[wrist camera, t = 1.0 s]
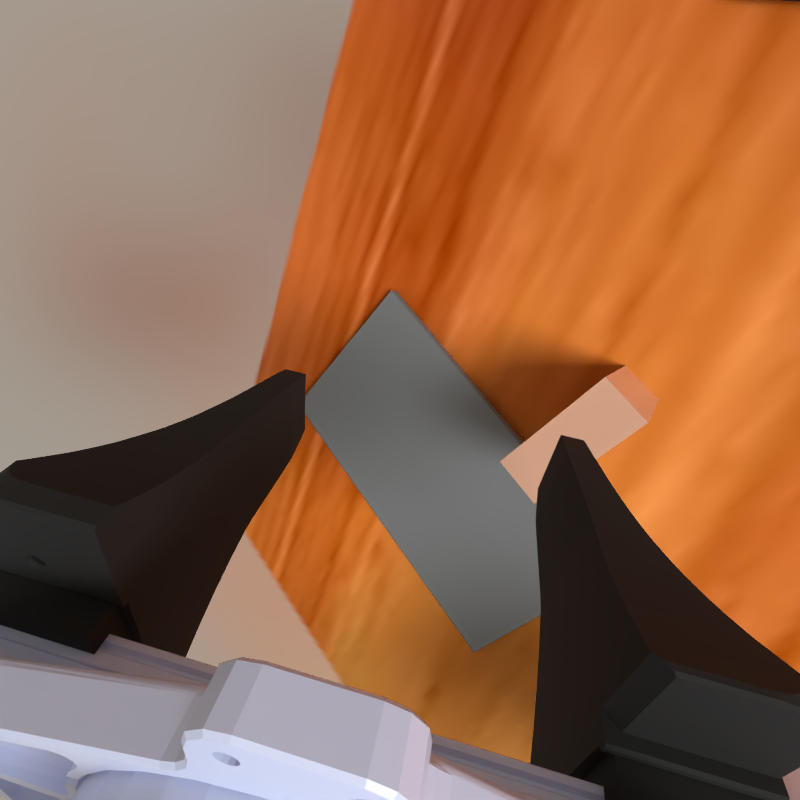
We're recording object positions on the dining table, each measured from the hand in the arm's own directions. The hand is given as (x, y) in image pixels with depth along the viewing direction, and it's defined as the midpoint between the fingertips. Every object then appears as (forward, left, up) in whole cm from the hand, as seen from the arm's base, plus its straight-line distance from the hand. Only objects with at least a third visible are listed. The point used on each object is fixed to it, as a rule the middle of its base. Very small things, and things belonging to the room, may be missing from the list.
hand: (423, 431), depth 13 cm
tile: (-3, -1, -12) cm, 12 cm away
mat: (0, +7, -12) cm, 14 cm away
